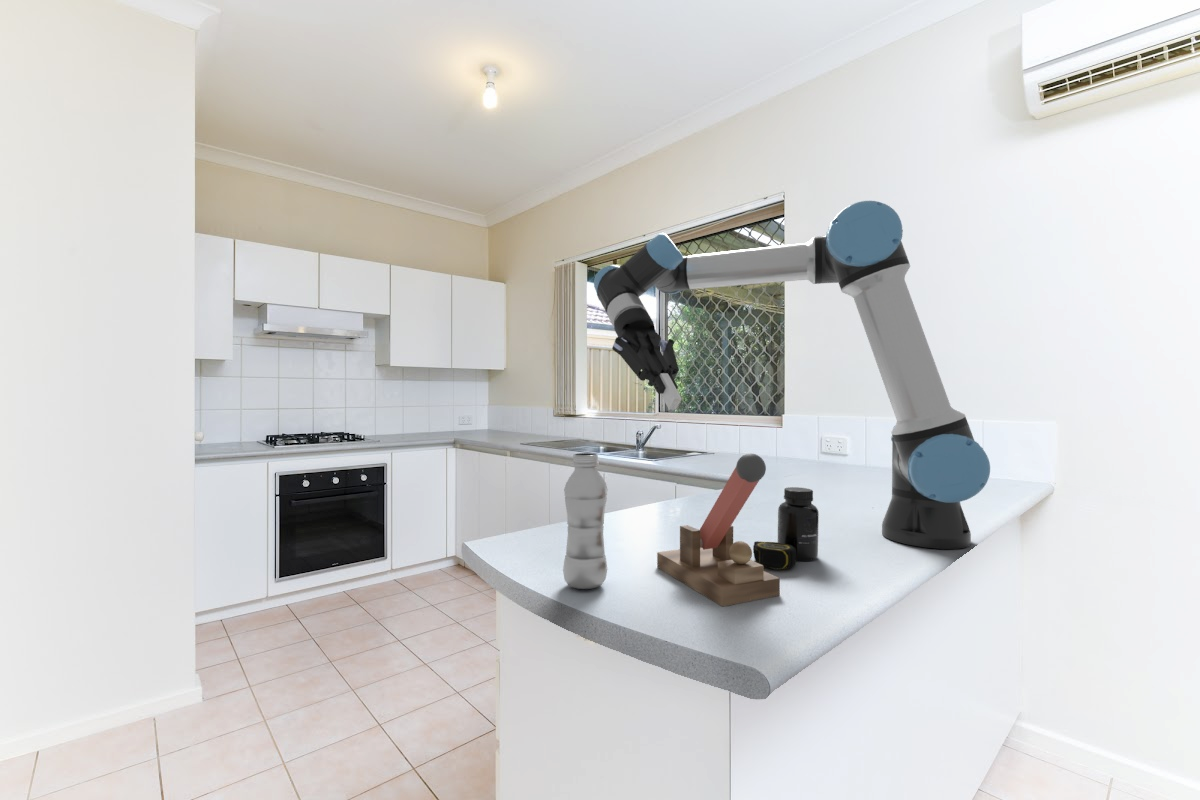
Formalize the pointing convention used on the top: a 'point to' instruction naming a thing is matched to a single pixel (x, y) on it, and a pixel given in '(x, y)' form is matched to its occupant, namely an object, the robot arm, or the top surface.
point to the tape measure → (774, 555)
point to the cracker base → (708, 570)
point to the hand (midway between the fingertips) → (675, 404)
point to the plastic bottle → (585, 524)
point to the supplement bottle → (799, 523)
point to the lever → (731, 500)
